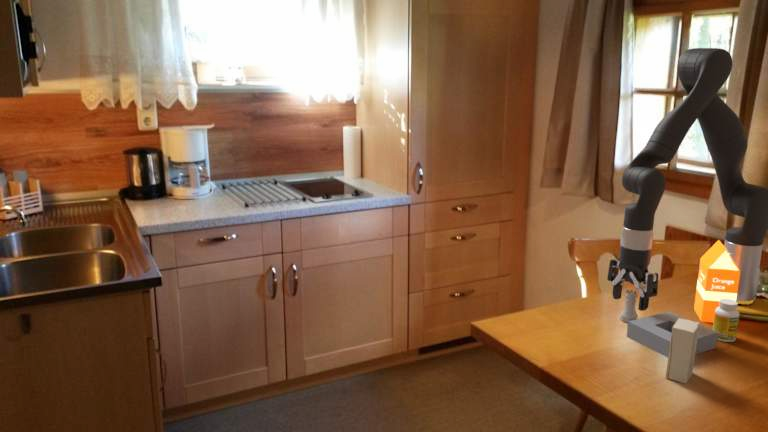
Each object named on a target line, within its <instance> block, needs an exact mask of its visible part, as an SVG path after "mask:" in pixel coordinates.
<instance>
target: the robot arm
mask: <svg viewBox="0 0 768 432" xmlns="http://www.w3.org/2000/svg"><path fill="white" fill-rule="evenodd" d="M733 66H734V65H733V57H732V55H731V54H730V52H729V51H728V50H726V49H723V48H714V47H712V48H710V47H704V48H702V47H696V48H690V49H689V48H688V49H687V50H685V51H683V52H682V53H681V55H680V56H679V59H678V60H677V75H678V78H679V81H680V84H681V85H682V88H683V89H684V91H685V93H686V97H685V98H684V99H683V100H682V101H681V102H680V103H679V104H678V105H677V106H675V107H674V108H673V109H672V110H671V111H669V112H668V113H667V114H666V115H665V116H664V117H663V118H662V119H661V120H660V121H659V123H657V125H656V127H655V129H654V130H653V132H652V133H651V135H650V137H649V139H648V141H647V143H646V145H645V146H644V147H643V149H641V151H640V152H639V153H637V155H636V156H635V157H634V158H633V159H632V160H631V161H630V163H629V164H627V166H626V168H625V169H624V171H623V173H622V178H621V184H622V187H623V189H624V190H625V191H627V192H629V193H633V194H636V195H639V197H638V200H637V201H636V202H632V203H628V204H627V205H626V207H625V209H624V216H623V226H622V231H621V233H620V243H619V254H618V258H613V259H610V261H609V265H608V271H607V277H606V278H607V281H608V282H611V284H612V299H614V300H619V299H622V291H623V283H624V282H626V283H627V282H628V283H630V284H631V285H634V286H635V289H636V290H638V292H639V295H640V296H639V300H638V301H639V302H638V308H637V309H638V310H639V311H641V312H642V311H646V310H647V309H648V308H649V302H650V298H653V297H656V296H658V288H659V274H658V273H657V272H654V273H652V272H649V270H648V269H649V268H648V267H649V265H650V264H651V258H652V257H651V256H652V250H653V249H652V248H653V243H654V242H653V241H654V223H655V217H656V216H655V215H656V212H657V209H658V207H659V205H660V202H661V201H662V198H663V196H664V192H665V190H666V178H665V175H664V173H663V171H661V170H659V169H656V167H657V166H659V165H663V164H669V163H670V162H672V160H673V159H674V157H675V156H676V153H677V151H678V150H679V148H680V146H681V144H682V143H683V141H684V139H685V137H686V136H687V134H688V133H689V131H690V129H691V128H692V126H693V124H694V123H695V122H696V120H697V121H698V124H699V126H700V129H701V132H702V135H703V139H704V142H705V144H706V147H707V151H708V152H709V155H710V157H711V161H712V164H713V167H714V170H715V173H716V177H717V181H718V185H719V191H720V196H721V200H722V204H723V206H724V208H725V210H726V211H727V212H728V213H730V215H731V214H732V215H734V216H737V217H741V218H743V223H742V225H741V226H737V227H736V226H735V227H730V228H728V229H726V232H725V237H724V244H723V245H724V246H725V248H726V249H727V251H728V253H729V255H730V256H731V258H732V259H733V261H734V263H735V264H736V266H737V267H738V269H739V270H740V277H739V284H738V291H737V299H736V301H751V300H754V298H756V299H757V294H758V287H759V280H760V275H761V268H760V265H761V261H762V260H761V259H762V252H763V245H764V240H765V237H766V236H767V233H768V187H766V186H762V185H757V184H752V183H748V182H746V180H745V179H744V177H743V174H742V172H741V165H742V161H743V160H744V157H745V155H746V153H747V149H748V139H747V135H746V132H745V128H744V125H743V123H742V121H741V118H740V117H739V116H738V115H737V114H736V112H735V111H734V110H733V109H732V108H731V107H730V106H729V105H728V104H727V103H726V102H725V101H724V100H723V99H722V98H721V97H720V95H719V94H718V92H719V91H720V90H721V88H722V87H723V86H724V84H725V83H726V82H727V80H728V78H729V77H730V75H731V72H732V70H733ZM641 283H642V284H641ZM754 301H755V300H754Z"/></svg>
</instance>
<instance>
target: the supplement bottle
mask: <svg viewBox="0 0 768 432" xmlns="http://www.w3.org/2000/svg"><path fill="white" fill-rule="evenodd" d="M719 306H720V307H717V308H716V309H715V314H714V321H713V324H712V328H711V330H713V331H715V332H717V333H718V334H717V341H720V342H725V343H731V342H735V341H736V339H737V335H738V328H739V321H740V312H739V310H738V307H739V305H738V302H736V301H734V300H731V299H720V300H719Z"/></svg>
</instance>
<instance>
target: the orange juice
mask: <svg viewBox="0 0 768 432" xmlns="http://www.w3.org/2000/svg"><path fill="white" fill-rule="evenodd" d="M739 277H740V270H739V269H738V267H737V266H736V264H735V263H734V261H733V259H732V258H731V256H730V255H729V253H728V251H727V249H726V248H725V246H724V244H723V243H722V242H721V240H720V239H718V240H717V241H715V243H714V244H713V245H712V246H711V247H710V248H709V249H707V251H706V252H705V253H704V254H703V255H702V256H701V257H700V258H699V268H698V276H697V281H696V290H695V296H694V297H695V299H694V306H693V309H694V312H695V314H696V315H697V316H698V319H699V320H700V322H702V323H704V322H705V323H713V321H714V314H715V309H716V308H717V307H720V306H719V300H720V299H731V300H734V301H736V299H737V291H738V284H739Z"/></svg>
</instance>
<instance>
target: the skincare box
mask: <svg viewBox="0 0 768 432" xmlns="http://www.w3.org/2000/svg"><path fill="white" fill-rule="evenodd" d="M683 318H684V317H682V318H678V319H677V321H676V322H675V324H674V326H673V328H672V335H671V342H670V349H669V356H668V357H667V364H666V371H665V378H666V379H669V380H672V381H676V382H679V383H681V384H682V383H683V384H685V385H686V384H687V383H688V382H689V380H690V378H691V377H692V374H693V371H694V364H695V356H696V354H695V352H696V345H697V338H698V332H699V325H701V324H700V322H701V321H700V322H699V321H694V320H690V319H687V318H685V319H683Z"/></svg>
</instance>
